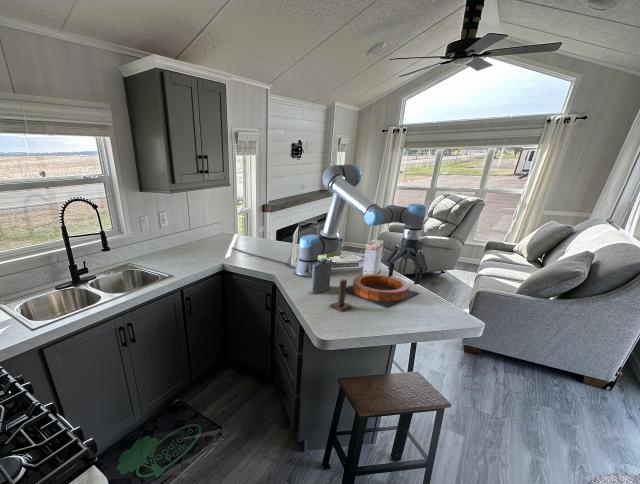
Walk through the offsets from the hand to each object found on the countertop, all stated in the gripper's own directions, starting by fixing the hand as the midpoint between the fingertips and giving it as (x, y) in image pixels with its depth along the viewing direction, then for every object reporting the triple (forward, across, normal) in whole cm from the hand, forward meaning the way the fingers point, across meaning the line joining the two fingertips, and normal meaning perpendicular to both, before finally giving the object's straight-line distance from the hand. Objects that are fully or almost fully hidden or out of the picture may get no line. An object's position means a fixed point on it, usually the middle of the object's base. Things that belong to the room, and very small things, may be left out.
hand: (402, 280), depth 163 cm
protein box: (+11, -68, +23) cm, 72 cm away
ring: (+10, -11, 0) cm, 15 cm away
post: (+10, -12, -31) cm, 35 cm away
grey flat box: (+11, -32, -22) cm, 41 cm away
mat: (+10, -12, 0) cm, 16 cm away
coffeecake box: (+11, -32, +23) cm, 41 cm away
